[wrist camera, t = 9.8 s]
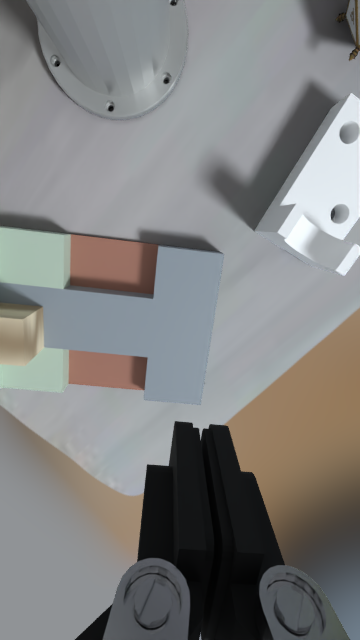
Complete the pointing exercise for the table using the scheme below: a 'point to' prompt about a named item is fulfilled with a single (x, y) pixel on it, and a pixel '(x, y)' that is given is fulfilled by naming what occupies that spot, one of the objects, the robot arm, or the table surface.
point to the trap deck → (112, 312)
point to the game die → (353, 23)
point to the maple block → (20, 333)
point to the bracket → (321, 195)
